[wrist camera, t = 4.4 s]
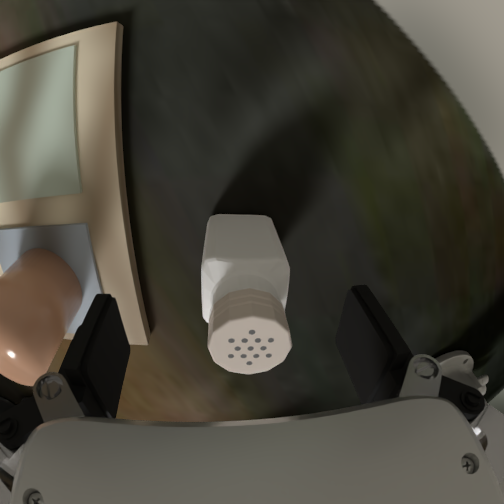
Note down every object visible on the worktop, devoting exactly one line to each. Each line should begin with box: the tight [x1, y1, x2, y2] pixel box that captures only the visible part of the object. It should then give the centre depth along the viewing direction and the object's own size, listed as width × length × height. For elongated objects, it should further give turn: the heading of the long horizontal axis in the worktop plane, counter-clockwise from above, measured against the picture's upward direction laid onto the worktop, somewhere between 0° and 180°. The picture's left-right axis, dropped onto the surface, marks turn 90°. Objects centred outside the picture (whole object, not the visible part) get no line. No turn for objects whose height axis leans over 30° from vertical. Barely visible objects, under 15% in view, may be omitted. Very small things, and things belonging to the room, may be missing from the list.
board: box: [0, 22, 151, 345], centre depth 16 cm, size 14×22×2 cm, turn 178°
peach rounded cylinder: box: [0, 248, 82, 386], centre depth 15 cm, size 6×6×7 cm
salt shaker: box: [201, 214, 292, 374], centre depth 15 cm, size 4×4×10 cm
